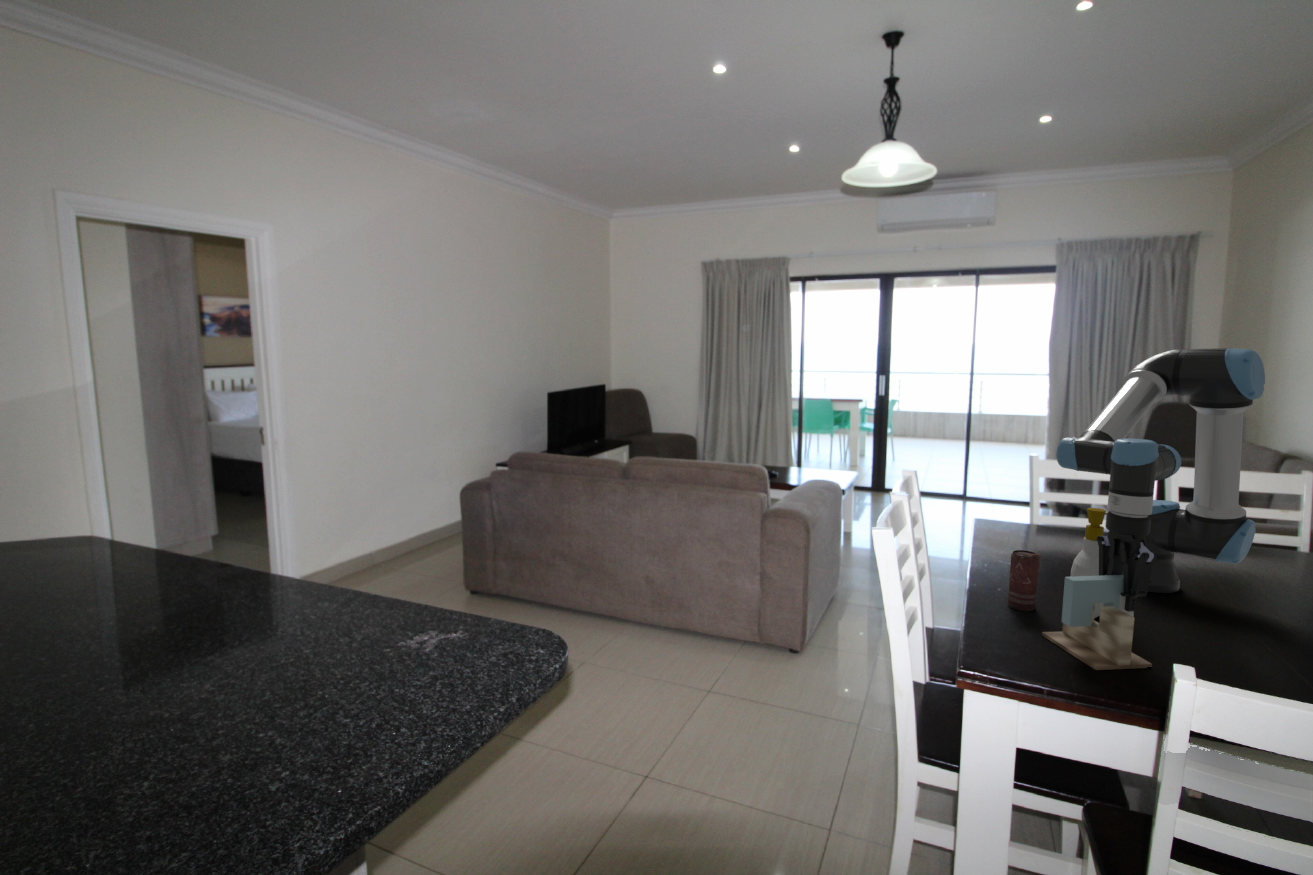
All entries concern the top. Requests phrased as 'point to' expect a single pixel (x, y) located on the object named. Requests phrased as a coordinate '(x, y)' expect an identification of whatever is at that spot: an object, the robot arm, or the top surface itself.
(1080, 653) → the birch jig
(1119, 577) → the pale blue tunnel block
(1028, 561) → the can
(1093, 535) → the soap bottle
